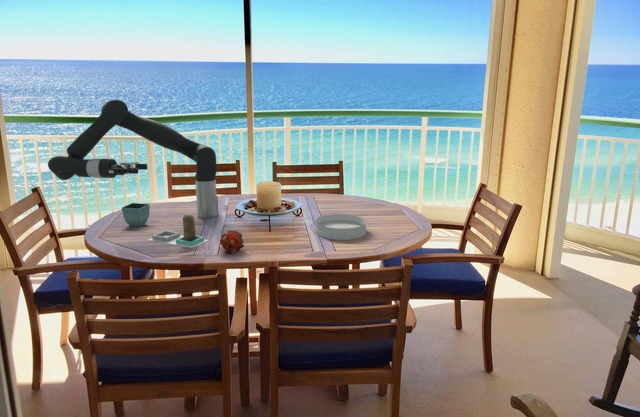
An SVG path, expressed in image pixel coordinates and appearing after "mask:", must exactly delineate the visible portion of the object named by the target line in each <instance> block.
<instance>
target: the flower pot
mask: <svg viewBox="0 0 640 417" xmlns="http://www.w3.org/2000/svg"><path fill="white" fill-rule="evenodd" d="M150 205H151V204H150V203H138V202H131V203H129V204H127V205H125V206H122V207H121V211H122V216H123V219H124V221H125V223H126V224H127V225H128V226H129V227H137V228H140V227H142V226H144V225H146V223H147V222H148V220H149V216H150V209H151V207H150Z"/></svg>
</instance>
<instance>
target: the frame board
mask: <svg viewBox="0 0 640 417" xmlns="http://www.w3.org/2000/svg"><path fill="white" fill-rule="evenodd" d="M147 240H148V241H153V242H159V243H164V244H168V245H169V244H170V245H174V246H182V247H186V248H195V247H197V246H199V245H202V244H204V243H205V242H207V241H209V239H206V238H205V237H204V236H201V235H196V240H194V241H191V242H190V241H185V240H184V235H182V234H181V233H180V232H178V231H172V230H171V231H170V230H163V231H159V232H158V233H155V234H153V235H151V238H148V239H147Z"/></svg>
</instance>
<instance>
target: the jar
mask: <svg viewBox="0 0 640 417" xmlns="http://www.w3.org/2000/svg"><path fill="white" fill-rule="evenodd" d="M182 226H183V236H184V240H185V241H190V242H191V241H194V240H196V236H197V235H196V220H195V216H194V215H193V213H185V214H183V216H182Z"/></svg>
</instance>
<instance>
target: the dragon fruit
mask: <svg viewBox="0 0 640 417" xmlns="http://www.w3.org/2000/svg"><path fill="white" fill-rule="evenodd" d="M242 237H243V234H242V233H241V232H239V231H238V230H236V229H234V230H231V229H229V230H227V232H226V233H223V234H222V235H221V239H220V241H219V244H220V245H221V247H222V249H223V250H225V252H226V254H228V255H229V254H231V253H234V252H239V251H240V250H241V249H243V248H244V246H245V245H244V244H245V243H244V239H243V238H242Z"/></svg>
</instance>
